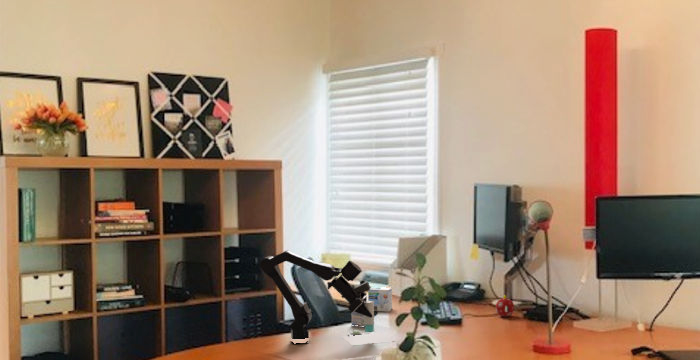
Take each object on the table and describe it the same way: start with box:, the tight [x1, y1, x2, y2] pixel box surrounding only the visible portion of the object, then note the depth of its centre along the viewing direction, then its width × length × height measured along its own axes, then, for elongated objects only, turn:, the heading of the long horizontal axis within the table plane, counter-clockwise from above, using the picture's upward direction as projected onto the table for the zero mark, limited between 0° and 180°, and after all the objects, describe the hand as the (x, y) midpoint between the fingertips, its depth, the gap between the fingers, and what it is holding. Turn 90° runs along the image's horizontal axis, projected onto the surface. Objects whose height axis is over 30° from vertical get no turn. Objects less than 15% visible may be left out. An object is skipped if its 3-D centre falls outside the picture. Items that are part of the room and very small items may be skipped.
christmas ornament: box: [495, 294, 516, 318], centre depth 359 cm, size 9×9×10 cm
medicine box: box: [350, 311, 365, 328], centre depth 346 cm, size 8×4×9 cm, turn 62°
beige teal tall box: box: [364, 300, 375, 333], centre depth 317 cm, size 4×4×12 cm
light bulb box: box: [367, 286, 393, 312], centre depth 381 cm, size 11×7×11 cm, turn 73°
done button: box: [352, 329, 360, 335], centre depth 326 cm, size 3×3×2 cm
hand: (372, 315), depth 317 cm, fingers closed on beige teal tall box, 4 cm apart
